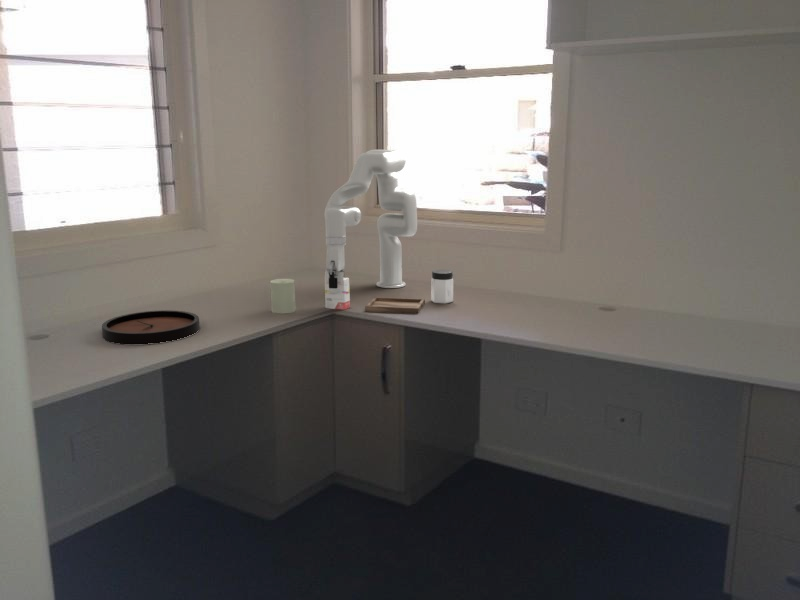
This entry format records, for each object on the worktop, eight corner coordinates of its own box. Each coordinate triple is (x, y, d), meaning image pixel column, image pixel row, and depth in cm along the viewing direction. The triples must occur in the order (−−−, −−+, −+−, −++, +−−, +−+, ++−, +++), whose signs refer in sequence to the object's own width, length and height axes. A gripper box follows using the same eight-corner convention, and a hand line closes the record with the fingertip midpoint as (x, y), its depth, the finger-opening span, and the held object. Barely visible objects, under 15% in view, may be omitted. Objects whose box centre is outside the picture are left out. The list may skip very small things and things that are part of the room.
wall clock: (203, 328, 239) (100, 337, 228) (204, 339, 239) (101, 350, 229) (194, 307, 267) (102, 315, 256) (195, 317, 268) (103, 326, 257)
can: (273, 314, 271) (271, 282, 268) (269, 309, 279) (267, 278, 277) (297, 312, 274) (296, 281, 271) (293, 307, 282) (292, 276, 280)
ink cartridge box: (350, 307, 281) (349, 269, 278) (344, 310, 277) (344, 272, 274) (330, 305, 285) (329, 268, 281) (324, 308, 280) (323, 270, 277)
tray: (375, 301, 290) (374, 297, 290) (424, 303, 286) (424, 298, 286) (365, 311, 275) (365, 306, 274) (418, 313, 271) (418, 308, 271)
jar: (441, 304, 285) (442, 274, 282) (426, 301, 291) (427, 271, 288) (457, 300, 291) (457, 271, 288) (442, 297, 297) (442, 268, 294)
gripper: (332, 237, 284) (333, 281, 288) (319, 243, 267) (320, 289, 271) (351, 238, 282) (352, 281, 286) (339, 244, 266) (340, 290, 270)
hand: (336, 285), depth 279 cm, fingers open, 9 cm apart
